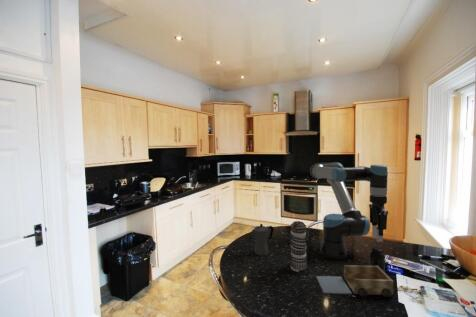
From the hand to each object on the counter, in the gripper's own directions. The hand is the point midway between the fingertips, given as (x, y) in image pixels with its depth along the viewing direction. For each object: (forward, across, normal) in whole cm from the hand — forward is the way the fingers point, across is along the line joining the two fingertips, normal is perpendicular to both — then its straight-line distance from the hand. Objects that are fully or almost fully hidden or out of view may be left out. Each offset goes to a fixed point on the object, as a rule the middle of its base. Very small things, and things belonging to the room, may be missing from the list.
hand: (377, 239), depth 115 cm
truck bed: (+17, -14, +12) cm, 25 cm away
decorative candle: (+17, +1, +40) cm, 44 cm away
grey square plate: (+16, -14, +21) cm, 30 cm away
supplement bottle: (+17, 0, 0) cm, 17 cm away
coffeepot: (+17, +18, +59) cm, 64 cm away
